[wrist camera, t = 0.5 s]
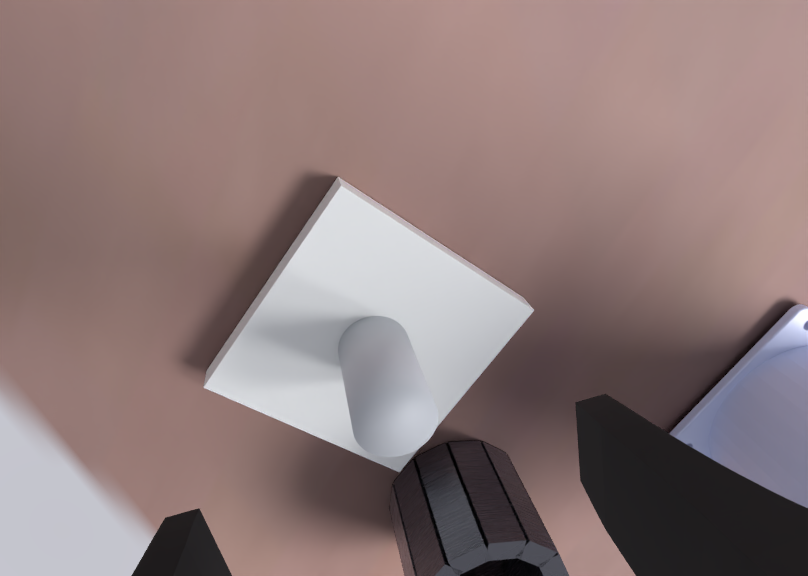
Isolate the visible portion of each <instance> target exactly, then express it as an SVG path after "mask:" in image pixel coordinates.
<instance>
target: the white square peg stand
mask: <svg viewBox="0 0 808 576" xmlns="http://www.w3.org/2000/svg"><path fill="white" fill-rule="evenodd" d="M533 311H534V309H533V308H532V307H531V306H530V305H529V303H528V302H527V301H526V300H525V299H524V297H522V296H520V295H519V294H517V293H516V292H514V291H513V290H511V289H510V288H508V287H507V286H505V285H504V284H502V283H501V282H499V281H497V280H496V279H494V278H493V277H491V276H490V275H488V274H487V273H485V272H484V271H482V270H481V269H479V268H477V267H476V266H474V265H473V264H471V263H470V262H468V261H467V260H465V259H464V258H462V257H461V256H459V255H458V254H456V253H454V252H453V251H451V250H450V249H448V248H447V247H445V246H444V245H442V244H441V243H439V242H438V241H436V240H435V239H433V238H431V237H430V236H428V235H427V234H425V233H424V232H422V231H421V230H419V229H418V228H416V227H415V226H413V225H411V224H410V223H408V222H407V221H405V220H404V219H402V218H401V217H399V216H398V215H396V214H395V213H393V212H392V211H390V210H388V209H387V208H385V207H384V206H382V205H381V204H379V203H378V202H376V201H375V200H373V199H372V198H370V197H368V196H367V195H365V194H364V193H362V192H361V191H359V190H358V189H356V188H355V187H353V186H352V185H350V184H349V183H347V182H345V181H344V180H342V179H341V178H339V177H337V179H336V180H335V182H334V183H333V185H332V186H331V188H330V189H329V191H328V192H327V194H326V195H325V196H324V198H323V199H322V201H321V202H320V204H319V205H318V207H317V208H316V210H315V211H314V213H313V214H312V216H311V217H310V219H309V220H308V222H307V223H306V225H305V226H304V227H303V229H302V230H301V232H300V233H299V235H298V236H297V238H296V239H295V241H294V242H293V244H292V245H291V247H290V248H289V250H288V251H287V253H286V254H285V256H284V257H283V258H282V260H281V261H280V263H279V264H278V266H277V267H276V269H275V270H274V272H273V273H272V275H271V276H270V278H269V279H268V281H267V282H266V284H265V285H264V287H263V288H262V289H261V291H260V292H259V294H258V295H257V297H256V298H255V300H254V301H253V303H252V304H251V306H250V307H249V309H248V310H247V312H246V313H245V315H244V316H243V318H242V319H241V320H240V322H239V323H238V325H237V326H236V328H235V329H234V331H233V332H232V334H231V335H230V337H229V338H228V340H227V341H226V343H225V344H224V346H223V347H222V349H221V350H220V351H219V353H218V354H217V356H216V357H215V359H214V360H213V362H212V363H211V365H210V366H209V368H208V369H207V371H206V376H205V382H204V387H203V388H206V389H208V390H210V391H213V392H215V393H217V394H219V395H222V396H224V397H226V398H229V399H231V400H233V401H236V402H238V403H240V404H243V405H245V406H247V407H249V408H252V409H254V410H256V411H259V412H261V413H263V414H266V415H268V416H270V417H273V418H275V419H277V420H279V421H282V422H284V423H286V424H289V425H291V426H293V427H296V428H298V429H300V430H303V431H305V432H307V433H309V434H312V435H314V436H316V437H319V438H321V439H323V440H326V441H328V442H330V443H333V444H335V445H337V446H339V447H342V448H344V449H346V450H349V451H351V452H353V453H356V454H358V455H360V456H363V457H365V458H367V459H369V460H372V461H374V462H376V463H379V464H381V465H383V466H386V467H388V468H390V469H393V470H395V471H397V472H400V471H401V470H402V469H403V467H404V466H405V465H406V464H407V463H408V461H409V460H410V459H411V458H412V457H413V455H414V454H415V453H416V452H417V451H418V449H419V448H420V447H421V446H423V445H424V444H425V443H426V442H427V441H428V440H429V439H430V438H431V436H432V435H433V433H434V432H435V429H436V428H437V426H438V425H439V424H440V423H441V422H442V420H443V419H444V418H445V417H446V416H447V414H448V413H449V412H450V411H451V410H452V408H453V407H454V406H455V405H456V404H457V402H458V401H459V400H460V399H461V398H462V396H463V395H464V394H465V393H466V392H467V390H468V389H469V388H470V387H471V386H472V384H473V383H474V382H475V381H476V380H477V378H478V377H479V376H480V375H481V374H482V372H483V371H484V370H485V369H486V368H487V366H488V365H489V364H490V363H491V362H492V360H493V359H494V358H495V357H496V356H497V354H498V353H499V352H500V351H501V350H502V348H503V347H504V346H505V345H506V344H507V342H508V341H509V340H510V339H511V338H512V336H513V335H514V334H515V333H516V332H517V330H518V329H519V328H520V327H521V326H522V324H523V323H524V322H525V321H526V320H527V318H528V317H529V316H530V315H531V314H532V312H533Z"/></svg>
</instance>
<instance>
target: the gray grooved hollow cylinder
mask: <svg viewBox="0 0 808 576" xmlns="http://www.w3.org/2000/svg"><path fill="white" fill-rule="evenodd" d="M416 460H417V461H416ZM416 460H414V459H412V460H411V462H410V463H409V464H408V465H407V466H406V468H405V469H404V470H403V471H402V472H401V474H400V475H399V476H398V477H397V478H396V480H395V481H394V484H392V492H391V499H390V507H389V510H390V514H391V519H392V523H393V527H394V532H395V536H396V540H397V545H398V549H399V554H400V558H401V562H402V567H403V571H404V575H405V576H569V574H568V572H567V570H566V568H565V566H564V564H563V561H562V559H561V557H560V555H559V553H558V551H557V549H556V547H555V545H554V543H553V541H552V539H551V537H550V535H549V534H548V532H547V530H546V528H545V526H544V524H543V522H542V520H541V518H540V516H539V514H538V512H537V510H536V508H535V507H534V505H533V503H532V501H531V499H530V497H529V495H528V493H527V491H526V489H525V487H524V485H523V483H522V481H521V479H520V478H519V476H518V474H517V472H516V470H515V468H514V466H513V464H512V462H511V460H510V458H509V456H508V454H506V453H505V452H503V451H501V450H499V449H497V448H495V447H493V446H491V445H489V444H487V443H485V442H483V441H482V442H481V443H480V441H456V442H448V447H447V446H446V444H445V443H443V444H441V445H439V446H437V447H435V448H433V449H431V450H429V451H427V452H425V453H423V454H420V455H418V456H416Z"/></svg>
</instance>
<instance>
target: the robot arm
mask: <svg viewBox="0 0 808 576" xmlns="http://www.w3.org/2000/svg"><path fill="white" fill-rule="evenodd" d="M575 403H576V418H577V433H578V448H579V464H580V479H581V482H582V484H583V486H584V488H585V490H586V492H587V494H588V496H589V498H590V500H591V502H592V504H593V506H594V508H595V510H596V512H597V514H598V516H599V518H600V520H601V522H602V524H603V525H604V527H605V529H606V531H607V532H608V534H609V535H610V537H611V538H612V540H613V542H614V543H615V545H616V546H617V548H618V549H619V551H620V552H621V554H622V555H623V557H624V558H625V560H626V561H627V563H628V564H629V566H630V567H631V569H632V570H633V572H634V573H635V575H636V576H808V307H807V306H805V305H803V304H798V305H795V306H793V307H792V308H791V309H789V310H788V311H787V312H786V313H785V314H784V315H783V317H782V318H781V319H780V320H779V321H778V322H777V323H776V324H775V325H774V326H773V327H772V328H771V329H770V330H769V331H768V332H767V333H766V334H765V335H764V336H763V337H762V338H761V339H760V340H759V341H758V342H757V343H756V344H755V345H754V346H753V347H752V348H751V350H750V351H749V352H748V353H747V354H746V355H745V356H744V357H743V358H742V359H741V360H740V361H739V362H738V363H737V364H736V365H735V366H734V367H733V368H732V369H731V370H730V371H729V372H728V373H727V374H726V375H725V376H724V377H723V378H722V379H721V380H720V381H719V383H718V384H717V385H716V386H715V387H714V388H713V389H712V390H711V391H710V392H709V393H708V394H707V395H706V396H705V397H704V398H703V399H702V400H701V401H700V402H699V403H698V404H697V405H696V406H695V407H694V408H693V409H692V410H691V411H690V412H689V413H688V414H687V416H686V417H685V418H684V419H683V420H682V421H681V422H680V423H679V424H678V425H677V426H676V427H675V428H674V429H673V430H672V431H671V432H670V433H667V432H665V431H664V430H662V429H661V428H659V427H657V426H656V425H654V424H653V423H651V422H649V421H648V420H646V419H645V418H643V417H641V416H640V415H638V414H637V413H635V412H634V411H632V410H630V409H629V408H627V407H626V406H624V405H622V404H621V403H619V402H618V401H616V400H614V399H613V398H611V397H610V396H608V395H606V394H604V395H600V396H597V397H593V398H590V399H586V400H582V401H579V402H575ZM132 576H232V575H231V573H230V571H229V569H228V567H227V565H226V562H225V560H224V558H223V556H222V554H221V552H220V550H219V548H218V546H217V544H216V542H215V540H214V538H213V536H212V534H211V532H210V529H209V527H208V525H207V523H206V521H205V519H204V517H203V515H202V513H201V511H200V509H195V510H191V511H188V512H184V513H181V514H177V515H174V516H170V517H167V518H165V519H164V521H163V523H162V524H161V526H160V528H159V529H158V531H157V533H156V534H155V536H154V538H153V539H152V541H151V543H150V545H149V546H148V548H147V550H146V552H145V553H144V555H143V557H142V559H141V560H140V562H139V564H138V566H137V567H136V569H135V571H134V573H133V574H132Z"/></svg>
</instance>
